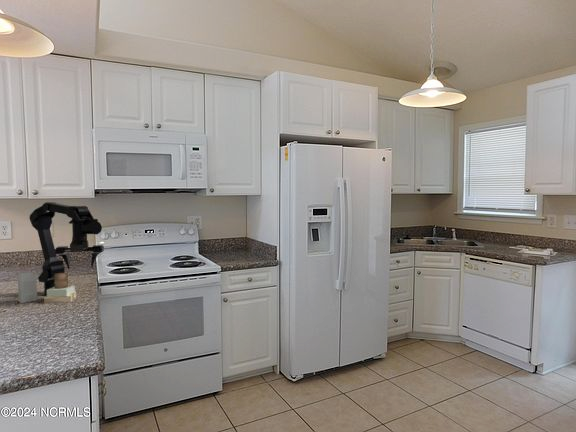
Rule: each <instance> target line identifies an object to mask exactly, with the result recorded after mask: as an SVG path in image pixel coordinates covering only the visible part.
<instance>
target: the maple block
mask: <svg viewBox="0 0 576 432" xmlns="http://www.w3.org/2000/svg"><path fill="white" fill-rule="evenodd" d="M76 297H77V291H76V290H75V292H74V293H72V294H70V295H68V296H63V297H47V295H45V297H44V298H43V299H44V300H43V302H44V304H59V303H71V302H72V301H73V300H74V299H75V298H76Z"/></svg>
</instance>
